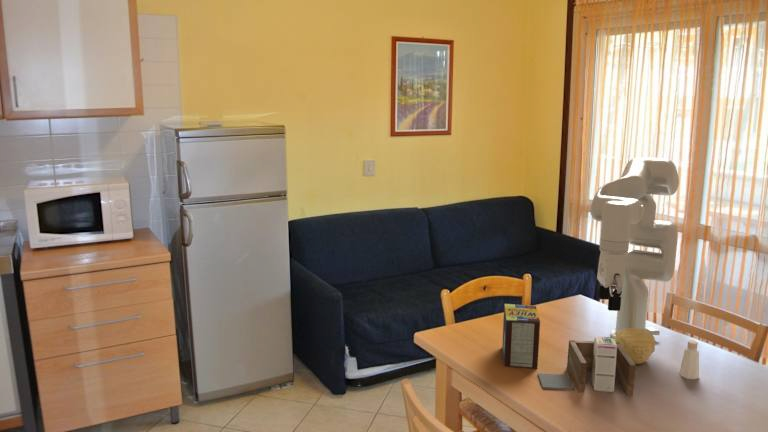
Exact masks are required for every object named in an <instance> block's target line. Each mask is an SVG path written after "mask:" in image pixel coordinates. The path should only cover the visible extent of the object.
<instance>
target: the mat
mask: <svg viewBox="0 0 768 432" xmlns="http://www.w3.org/2000/svg"><path fill="white" fill-rule="evenodd" d="M537 377H538V379H539V382H540V385H541V387H542V389H543V390H553V391H555V390H557V391H576V390H575V389H576V388H575V385H574V384H573V382H572V380H571V379H572V378H570V376H569V374H565V373H564V374H562V373H561V374H559V373H542V372H541V373H537Z"/></svg>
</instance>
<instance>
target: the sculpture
mask: <svg viewBox="0 0 768 432" xmlns="http://www.w3.org/2000/svg"><path fill="white" fill-rule="evenodd" d="M614 339H615V342H619V343H620V345H621V346H622V347H623V349H624V350H625V351H626V353H627V354H628V355H629V357H630V358H631V360H632V361H633V362H634V364H635V365H640V364H643V363H645V362H646V361H648V360H649V359H650V357H651V356H652V354H653V353H654V352H655V349H656V348H655V347H656V344H657V342H656V338H655V335H652V334H650V333H648V332H646V331H644V330H643V329H635V328H626V329H623V330H621V331H619V332H618V333H617V334H616V336H615V338H614Z"/></svg>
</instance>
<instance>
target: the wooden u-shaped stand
mask: <svg viewBox="0 0 768 432" xmlns="http://www.w3.org/2000/svg"><path fill="white" fill-rule="evenodd" d="M616 344H617V354H616V370H615V378H616V379H617V380H618V383H620V385H621V387H622V389H623V390H624V391H625V393H626V394H627V395H629V396H634V388H635V378H636V377H635V376H636V367H637V364H634V362H633V361H632V360H631V358H630V357H629V355H628V354H627V353H626V351H625V350H624V349H623V347H622V346H621V345H620V343H619V342H616ZM593 352H594V340H571V339H569V340H568V351H567V360H566V361H567V363H566V365H567V366H566V368H567V370H568V373H569V374H570V376H571V379H572V381H573V383H574V386H575V387H576V389H577V392H578V393H583V394H584V393H585V390H586V389H585V388H586V377H587V374H586V373H587V371H591V372H592V367H593Z"/></svg>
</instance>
